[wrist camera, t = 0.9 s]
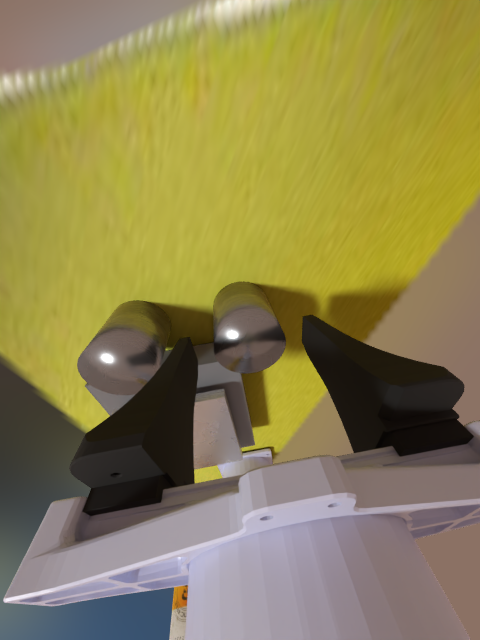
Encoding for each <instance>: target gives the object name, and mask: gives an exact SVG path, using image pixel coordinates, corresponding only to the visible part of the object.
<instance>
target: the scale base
mask: <svg viewBox="0 0 480 640" xmlns="http://www.w3.org/2000/svg"><path fill="white" fill-rule="evenodd" d="M193 348H194V351H195V353H196V356H197V359H198V381H197V389H196V394H198V393H203V392H209V391H214V390H219V389H224V390H225V394H226V397H227V401H228V404H229V408H230V411H231V415H232V418H233V422H234V425H235V429H236V432H237V436H238V439H239V443H240V446H241V448H242V447H247V446H253V445H255V442H254V436H253V430H252V424H251V419H250V414H249V409H248V404H247V399H246V394H245V389H244V384H243V379H242V374H241V373H237V372H233V371H230V370H228V369H226V368H224V367H223V366H222V365H221V364H220V363H219V362H218V361H217V359H216V357H215V354H214V342H213V343H207V344H202V345H196V346H193ZM171 351H172V350H169V351H165V353H164V356H163V360H162V363H161V366H162V364H163V363H164V361H165V360H166V359H167V357H168V356H169V354H170V353H171ZM85 387H86V388H87V389H88V390H89V391H90V393H91V394H92V395H93V396H94V397H95V398H96V400H97V401H98V402H99V403H100V404H101V405H102V407H103V408H104V409H105V410H106V411H107V412H108V414H109V415H110V416H111V414H112V412H113V410H114V409H117V408H121V407H122V406H123V405H125V404H126V403H127V402H128V401H129V400H130V399H131V398H132V397H133V396H134V395H135V394H134V395H115V394H110V393H106V392H103V391H101V390H98V389H96V388H94V387H93V386H91V385H90V384H88V383H87V384H86V385H85Z"/></svg>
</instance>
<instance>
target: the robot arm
mask: <svg viewBox="0 0 480 640" xmlns="http://www.w3.org/2000/svg"><path fill="white" fill-rule="evenodd" d="M302 343H303V345H304V348H305V350H306V352H307V355H308V356H309V358H310V360H311V362H312V363H313V365H314V367H315V368H316V370H317V372H318V373H319V375H320V377H321V379H322V380H323V382H324V384H325V386H326V387H327V389H328V391H329V394H330V396H331V398H332V400H333V402H334V404H335V407H336V409H337V411H338V414H339V416H340V418H341V421H342V423H343V426H344V428H345V431H346V433H347V436H348V438H349V440H350V443H351V446H352V449H353V451H354V453H353V454H347V455H342V456H337V457H334V456H330V455H320V456H313V457H308V458H303V459H297V460H292V461H287V462H282V463H276V464H273V462H272V453H271V449H262V450H257V451H252V452H247V453H242V455H243V460H241V461H236V462H231V463H225V464H220V465H217V466H218V468H219V470H220V472H221V475H222V477H223V478H222V479H216V480H211V481H206V482H201V483H196V484H195V483H194V447H193V430H194V406H195V397H196V389H197V381H198V359H197V356H196V353H195V351H194V348H193V345H192V342H191V339H190V337H186V338H181V339H179V341H178V342H177V344H176V345H175V347H174V348H173V350H172V351H171V353H170V354H169V356H168V357H167V359H166V360H165V361H164V363H163V364H162V366H161V367H160V368H159V369H158V371H157V372H156V373H155V374H154V376H153V377H152V378H151V379H150V380H149V381H148V382H147V383H146V385H145V386H144V387H143V388H142V389H141V390H140V391H139V392H138V393H137V394H135V395H134V396H133V397H132V398H131V399H130V400H129V401H128V402H127V403H126V404H125V405H123V406H122V407H121V408H120V409H119V410H117V411H116V412H115V413H114V414H112V415H111V416H110V417H109V418H107V419H106V420H105V421H103V422H102V423H100V424H99V425H98V426H96V427H95V428H93V429H92V430H91V431H89V432H88V433H86V435H85V437H84V438H83V440H82V442H81V445H80V446H79V448H78V450H77V452H76V454H75V456H74V459H73V460H72V462H71V464H70V468H69V469H70V471H71V473H72V475H73V476H74V477H76V478H77V479H78V480H80V481H81V482H83V483H84V484H86V485H87V486H89V487H90V488H91V491H90V493H89V496H88V498H87V497H74V498H69V499H64V500H59V501H54V502H53V503H51V505H50V507H49V509H48V511H47V513H46V515H45V517H44V519H43V521H42V523H41V525H40V527H39V529H38V531H37V533H36V535H35V537H34V539H33V541H32V543H31V545H30V547H29V549H28V551H27V553H26V555H25V557H24V559H23V561H22V563H21V565H20V567H19V569H18V571H17V573H16V575H15V577H14V579H13V581H12V583H11V585H10V587H9V589H8V591H7V593H6V595H5V597H4V599H3V600H4V602H5V603H17V604H31V605H44V606H58V605H63V604H68V603H74V602H79V601H85V600H90V599H96V598H102V597H109V596H115V595H122V594H128V593H135V592H143V591H150V590H156V589H163V588H170V587H177V586H184V585H188V596H187V613H186V630H185V640H471V639H470V637H469V635H468V634H467V632H466V630H465V628H464V627H463V625H462V623H461V621H460V619H459V618H458V616H457V614H456V612H455V611H454V609H453V607H452V605H451V604H450V602H449V600H448V598H447V596H446V595H445V593H444V591H443V589H442V588H441V586H440V584H439V582H438V581H437V579H436V577H435V575H434V573H433V572H432V570H431V568H430V566H429V565H428V563H427V561H426V559H425V558H424V556H423V554H422V553H421V550H420V549H419V547H418V545H417V543H416V542H415V539H418V538H422V537H426V536H430V535H434V534H438V533H442V532H446V531H450V530H454V529H458V528H462V527H466V526H470V525H474V524H478V523H480V420H479V421H474V422H470V423H468V424H466V425H464V426H463V425H462V424H461V423H460V422H459V421H458V420H457V419H458V418H459V415H458V414H457V413H456V412H455V411H454V410H453V409H452V408H453V407H454V405H455V404H456V402H457V401H458V400H459V399H460V397H461V396H462V394H463V392H464V384H463V382H462V381H461V380H459V379H458V378H457V377H456V376H454V375H453V374H452V373H451V372H449V371H448V370H447V369H446V368H444V367H441V366H437V365H432V364H427V363H423V362H418V361H415V360H411V359H408V358H404V357H400V356H397V355H394V354H391V353H388V352H385V351H382V350H379V349H377V348H374V347H372V346H369V345H367V344H365V343H362V342H360V341H358V340H356V339H354V338H352V337H350V336H348V335H346V334H344V333H342V332H340V331H339V330H337V329H335V328H333V327H332V326H330V325H328V324H327V323H325V322H324V321H322V320H320V319H319V318H317V317H315V316H314V315H308V316H303V326H302Z"/></svg>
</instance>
